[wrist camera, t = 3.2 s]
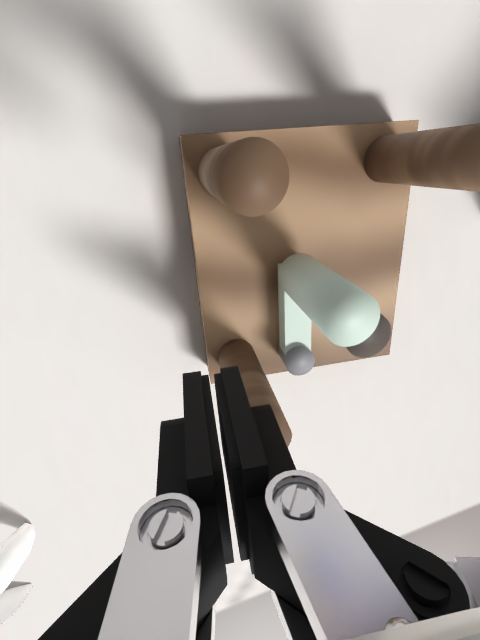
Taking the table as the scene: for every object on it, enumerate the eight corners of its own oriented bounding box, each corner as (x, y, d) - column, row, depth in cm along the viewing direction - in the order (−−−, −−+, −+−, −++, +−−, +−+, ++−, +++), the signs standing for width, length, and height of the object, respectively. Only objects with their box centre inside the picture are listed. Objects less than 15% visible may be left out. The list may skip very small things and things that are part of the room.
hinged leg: (308, 357, 26) (366, 438, 18) (274, 363, 26) (319, 448, 18) (310, 245, 23) (383, 287, 15) (270, 249, 22) (324, 295, 15)
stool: (179, 138, 21) (189, 116, 11) (394, 124, 23) (563, 94, 13) (207, 365, 28) (229, 477, 18) (372, 339, 30) (474, 427, 20)
